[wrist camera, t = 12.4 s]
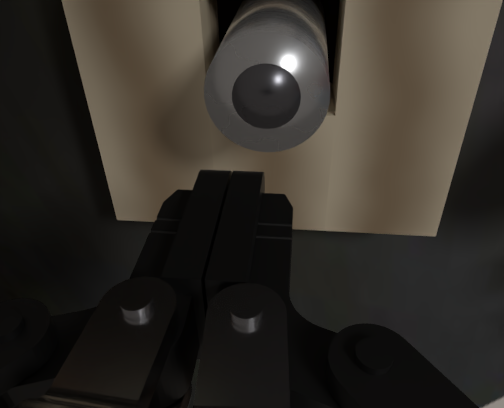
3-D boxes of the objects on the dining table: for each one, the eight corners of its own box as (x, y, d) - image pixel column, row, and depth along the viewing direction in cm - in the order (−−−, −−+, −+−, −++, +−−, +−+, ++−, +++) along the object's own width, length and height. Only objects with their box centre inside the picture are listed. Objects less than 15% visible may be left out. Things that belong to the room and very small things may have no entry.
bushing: (328, -25, 22) (335, 33, 14) (321, 67, 24) (325, 155, 17) (235, -25, 22) (197, 32, 15) (239, 65, 25) (208, 150, 18)
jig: (486, -70, 20) (518, -57, 17) (422, 194, 28) (435, 236, 25) (87, -65, 22) (48, -52, 19) (137, 181, 30) (117, 220, 27)
